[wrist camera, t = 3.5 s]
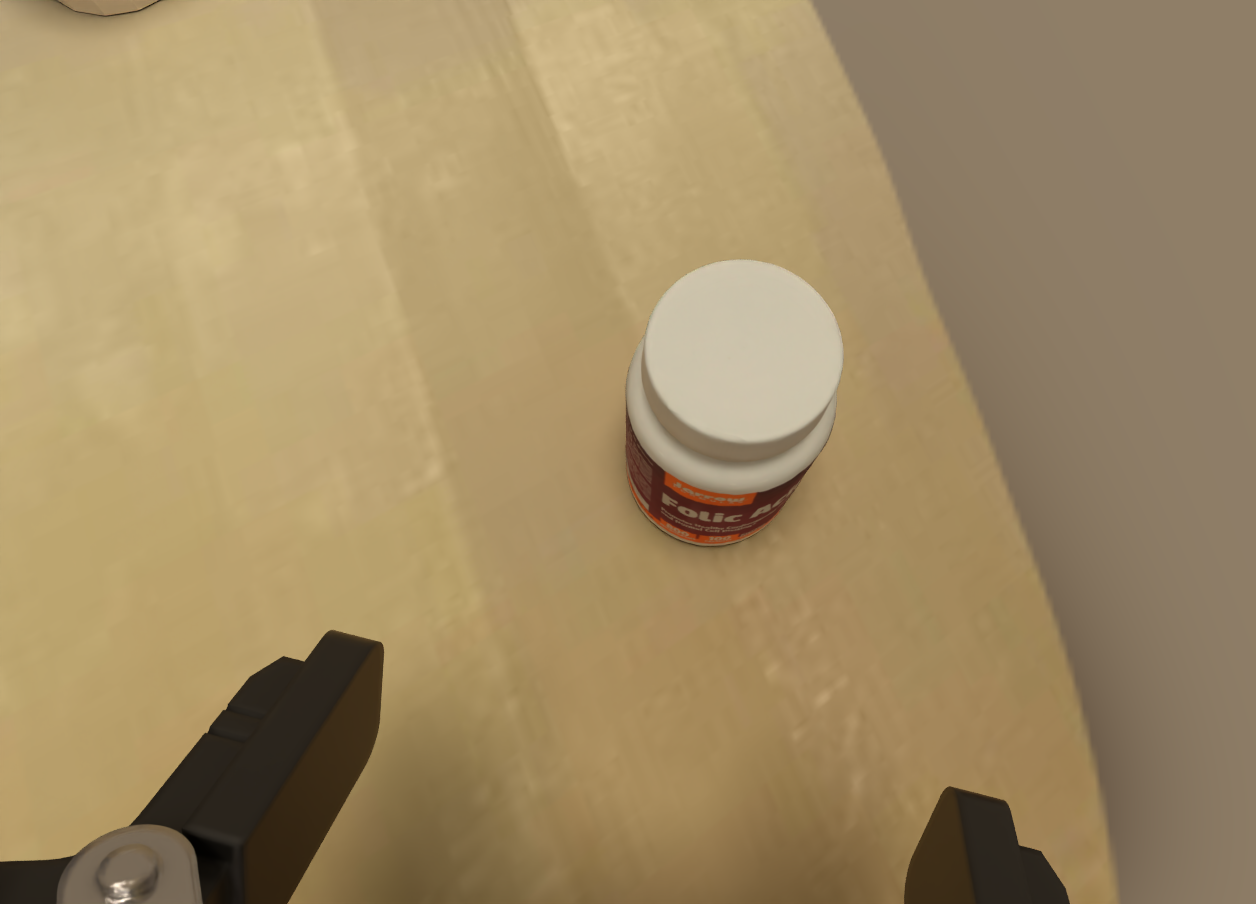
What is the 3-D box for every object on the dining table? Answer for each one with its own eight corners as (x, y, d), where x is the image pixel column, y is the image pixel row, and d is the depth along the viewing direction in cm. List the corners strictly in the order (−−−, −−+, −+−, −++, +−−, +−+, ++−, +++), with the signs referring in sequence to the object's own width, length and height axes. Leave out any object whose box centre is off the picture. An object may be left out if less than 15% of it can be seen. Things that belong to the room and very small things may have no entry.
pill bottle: (650, 568, 26) (659, 489, 18) (607, 409, 27) (598, 269, 19) (816, 525, 26) (897, 429, 18) (766, 371, 28) (821, 217, 20)
